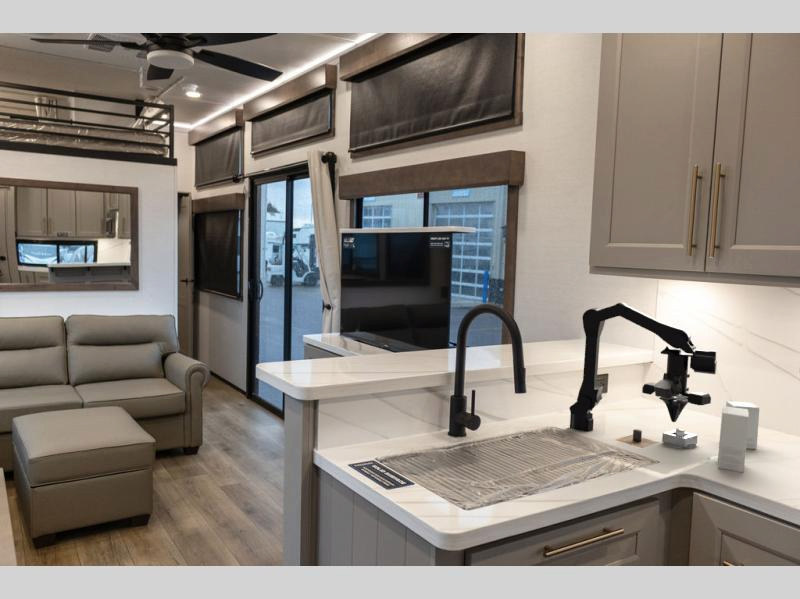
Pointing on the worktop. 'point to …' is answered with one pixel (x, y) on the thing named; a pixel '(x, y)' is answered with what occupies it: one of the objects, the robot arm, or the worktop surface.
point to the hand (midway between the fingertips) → (673, 421)
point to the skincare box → (733, 438)
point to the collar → (679, 439)
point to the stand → (637, 439)
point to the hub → (681, 433)
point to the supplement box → (753, 421)
